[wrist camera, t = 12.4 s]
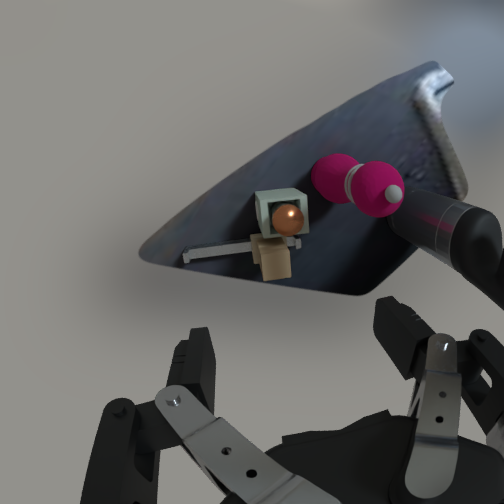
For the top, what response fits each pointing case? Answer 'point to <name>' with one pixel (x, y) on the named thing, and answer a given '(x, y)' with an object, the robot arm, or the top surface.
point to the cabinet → (269, 198)
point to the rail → (228, 248)
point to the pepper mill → (359, 184)
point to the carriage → (271, 256)
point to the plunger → (286, 218)
